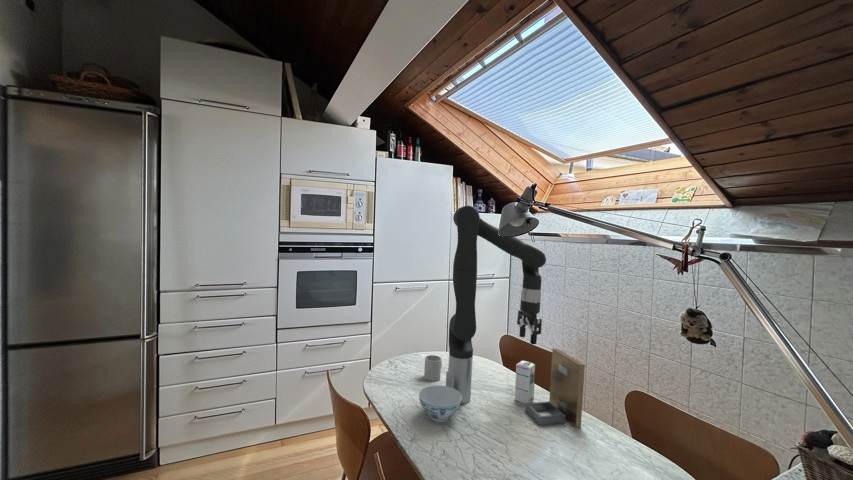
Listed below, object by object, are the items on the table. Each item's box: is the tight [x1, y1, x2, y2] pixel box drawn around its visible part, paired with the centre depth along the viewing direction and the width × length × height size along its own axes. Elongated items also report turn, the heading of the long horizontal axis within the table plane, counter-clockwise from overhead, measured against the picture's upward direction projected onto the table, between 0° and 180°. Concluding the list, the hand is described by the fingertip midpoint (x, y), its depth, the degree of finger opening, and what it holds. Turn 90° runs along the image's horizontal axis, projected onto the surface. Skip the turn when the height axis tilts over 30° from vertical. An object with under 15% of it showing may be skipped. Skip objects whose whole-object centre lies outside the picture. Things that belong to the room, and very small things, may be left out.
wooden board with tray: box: [524, 348, 586, 429], centre depth 123 cm, size 14×16×22 cm
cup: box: [423, 354, 443, 382], centre depth 152 cm, size 7×10×9 cm
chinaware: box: [418, 385, 462, 423], centre depth 119 cm, size 15×15×8 cm
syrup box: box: [514, 360, 536, 405], centre depth 135 cm, size 6×6×14 cm
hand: (527, 340), depth 135 cm, fingers open, 8 cm apart
